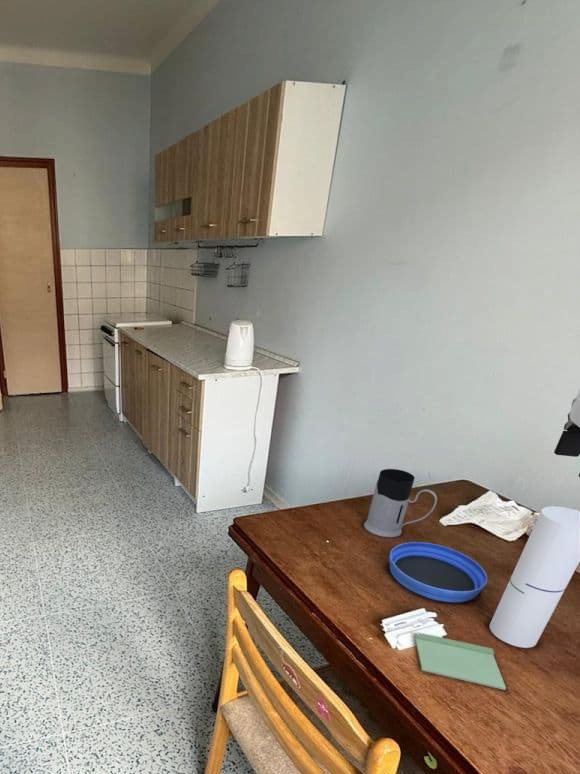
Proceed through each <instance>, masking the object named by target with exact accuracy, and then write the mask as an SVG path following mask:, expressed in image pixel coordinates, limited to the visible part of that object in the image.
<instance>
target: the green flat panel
mask: <svg viewBox="0 0 580 774" xmlns="http://www.w3.org/2000/svg"><path fill="white" fill-rule="evenodd" d="M416 632H417V631H416ZM416 632H415V633H414V635H413V636H414V640H415V646H416V649H417V655H418V660H419V664H420V670H421V671H422V672H427V673H431V674H435V675H438V676H443V677H447V678H452V679H456V680H460V681H465V682H469V683H473V684H477V685H482V686H486V687H490V688H494V689H499V690H503V691H506V689H507V686H506V684H505V681H504V679H503V676H502V674H501V671H500V669H499V666H498V663H497V660H496V658H495V651H494V649H493V648H492V647H487V646H482V645H479V644H473V643H469V642H465V641H460V640H455V639H450V638H445V637H440V636H436V635H432V634H426V633H422V632H417V633H418V634H419V635H418V634H417V633H416ZM421 633H422V634H421Z"/></svg>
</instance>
